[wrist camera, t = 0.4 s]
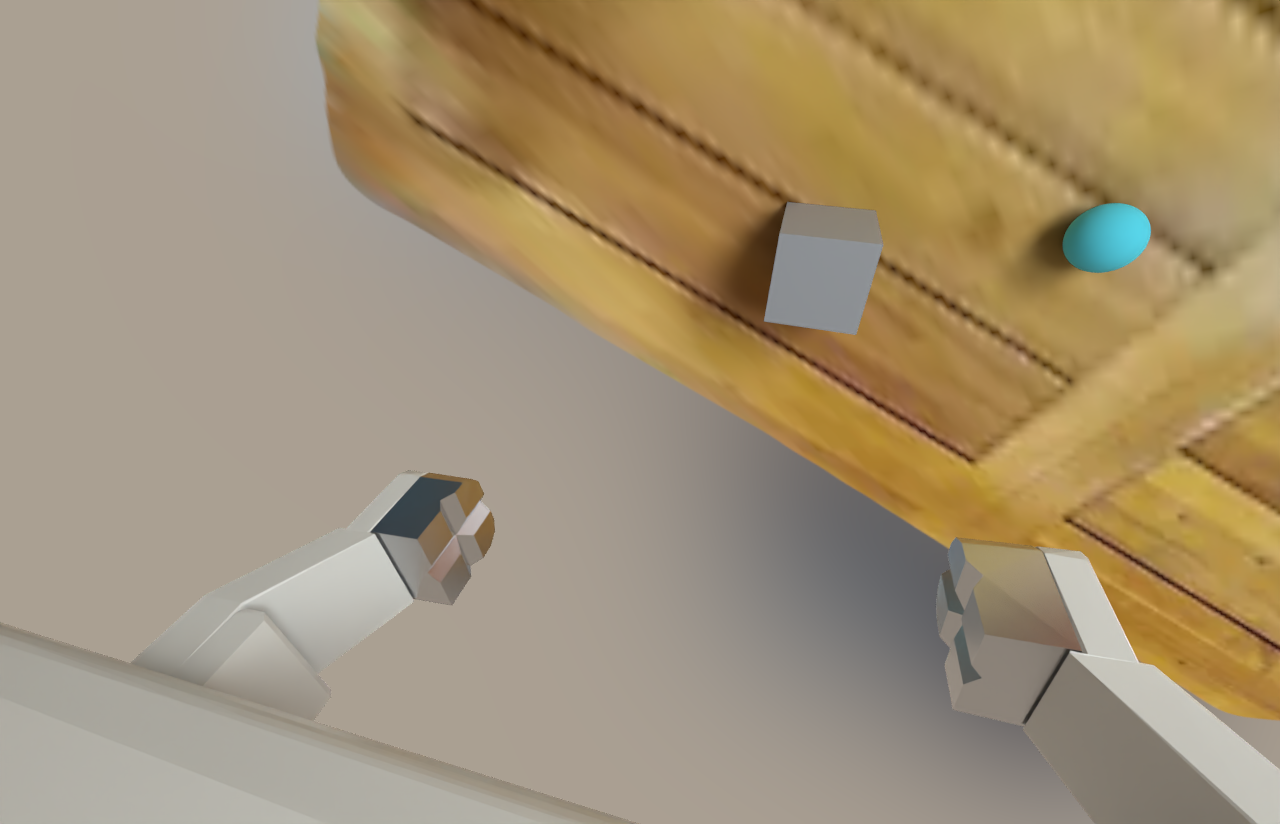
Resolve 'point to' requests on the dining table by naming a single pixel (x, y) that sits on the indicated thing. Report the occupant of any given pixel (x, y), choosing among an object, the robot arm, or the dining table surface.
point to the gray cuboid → (823, 267)
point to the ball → (1106, 237)
